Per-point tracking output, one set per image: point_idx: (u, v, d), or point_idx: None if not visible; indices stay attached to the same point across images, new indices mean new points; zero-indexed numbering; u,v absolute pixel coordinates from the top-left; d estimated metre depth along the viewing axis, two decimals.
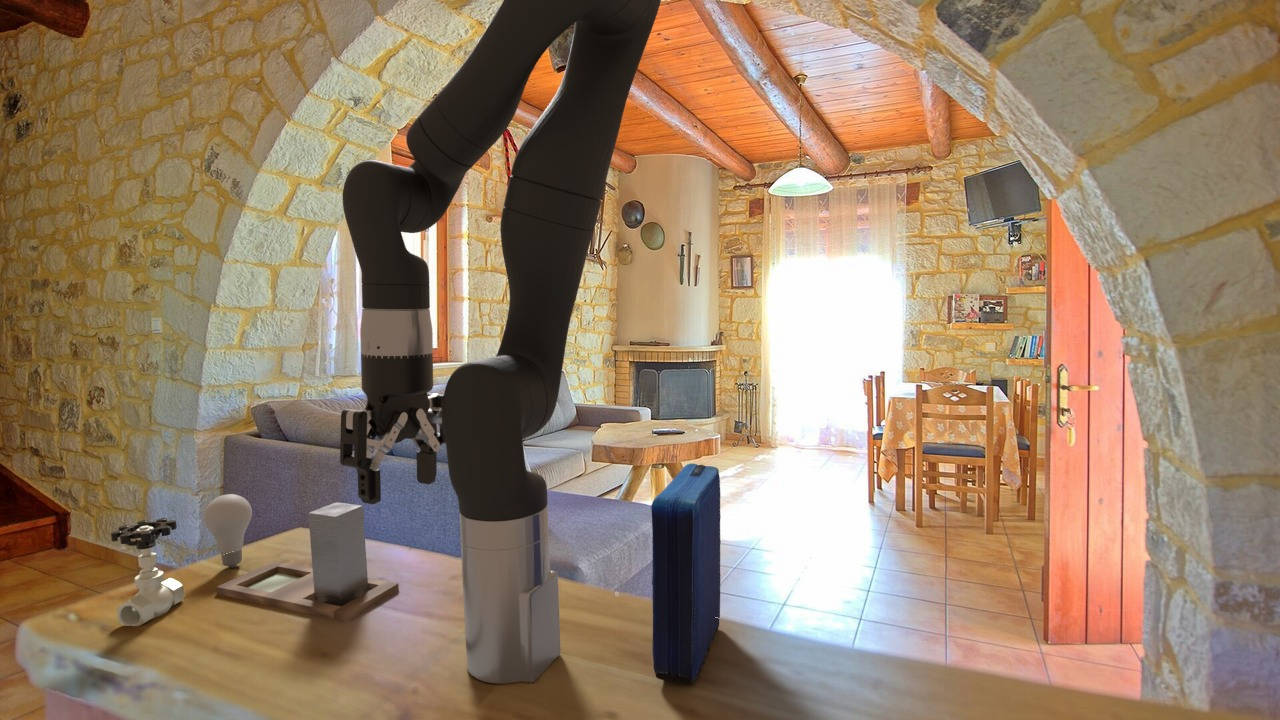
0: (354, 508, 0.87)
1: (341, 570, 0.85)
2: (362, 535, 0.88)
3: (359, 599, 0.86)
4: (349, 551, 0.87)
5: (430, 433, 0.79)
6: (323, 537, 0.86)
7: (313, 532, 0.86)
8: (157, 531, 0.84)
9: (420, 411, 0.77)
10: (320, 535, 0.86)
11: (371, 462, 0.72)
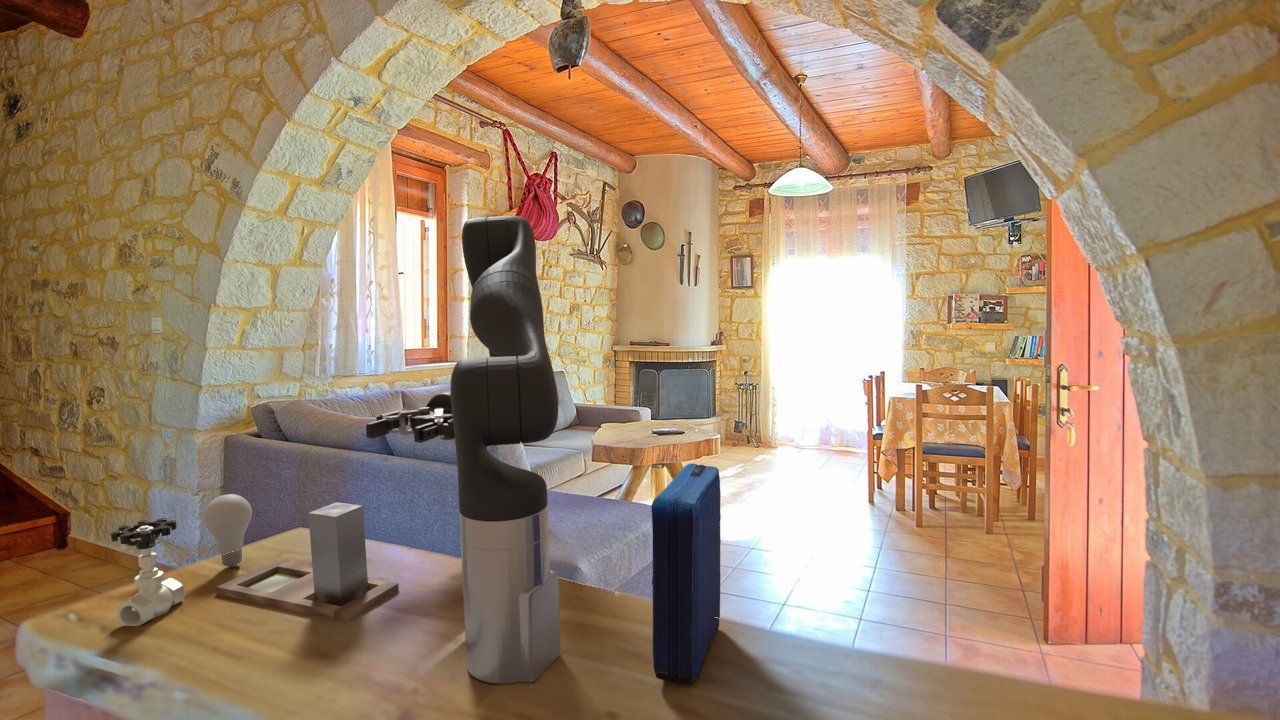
0: (354, 508, 0.87)
1: (341, 570, 0.85)
2: (362, 535, 0.88)
3: (359, 599, 0.86)
4: (349, 551, 0.87)
5: (437, 414, 1.01)
6: (323, 537, 0.86)
7: (313, 532, 0.86)
8: (157, 531, 0.84)
9: (440, 408, 1.04)
10: (320, 535, 0.86)
11: None
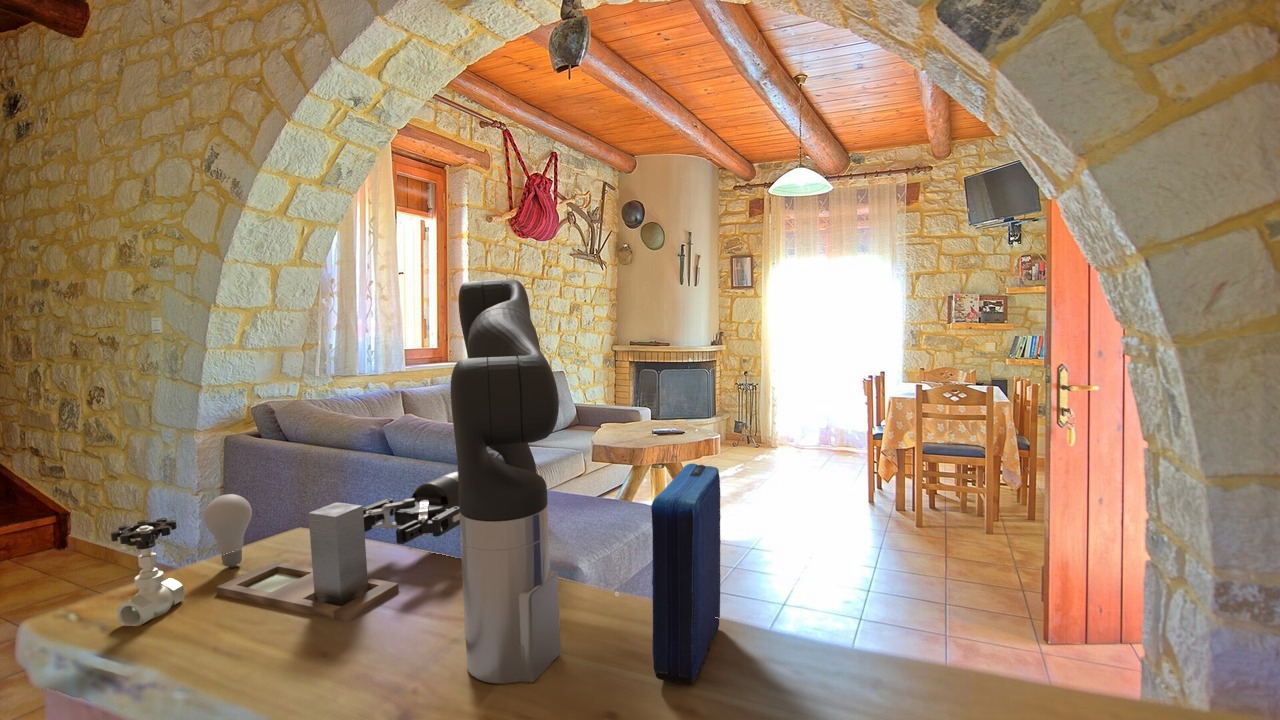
0: (354, 508, 0.87)
1: (341, 570, 0.85)
2: (362, 535, 0.88)
3: (359, 599, 0.86)
4: (349, 551, 0.87)
5: (422, 509, 0.98)
6: (323, 537, 0.86)
7: (313, 532, 0.86)
8: (157, 531, 0.84)
9: (425, 500, 1.01)
10: (320, 535, 0.86)
11: None
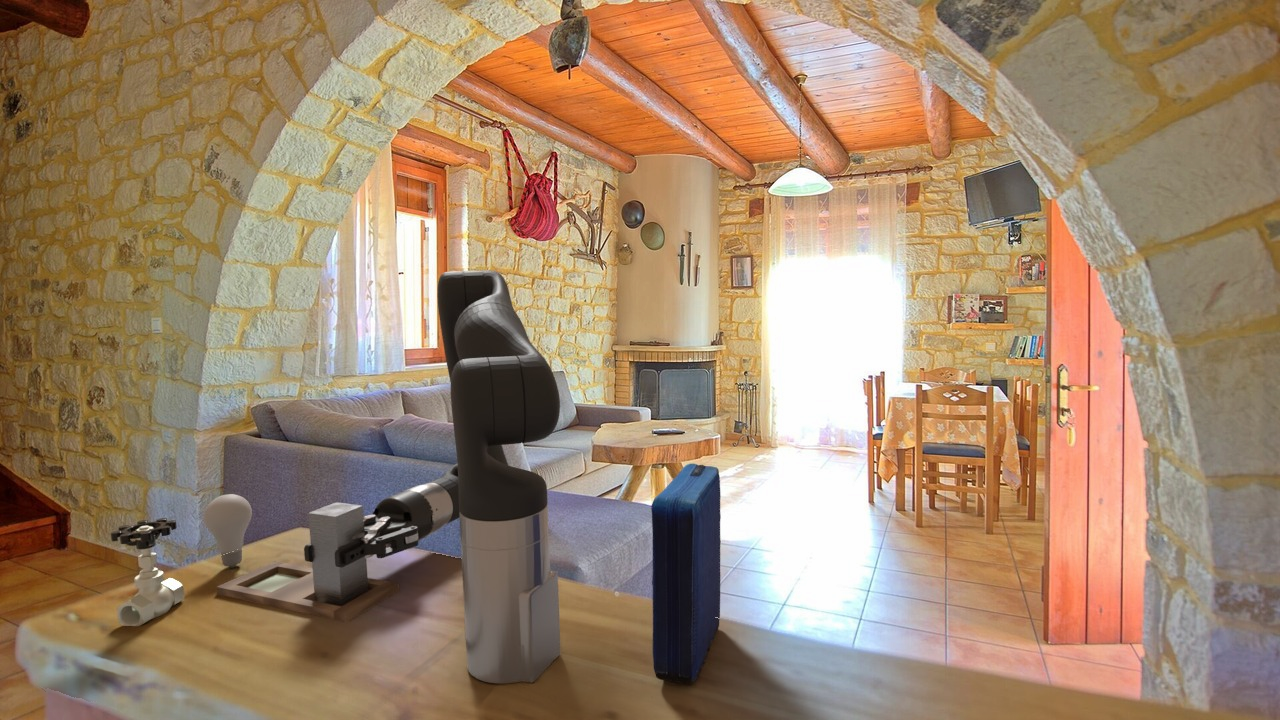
0: (354, 508, 0.87)
1: (341, 570, 0.85)
2: (362, 535, 0.88)
3: (359, 599, 0.86)
4: None
5: (373, 528, 0.90)
6: (323, 537, 0.86)
7: (313, 532, 0.86)
8: (157, 531, 0.84)
9: (387, 517, 0.94)
10: (320, 535, 0.86)
11: None
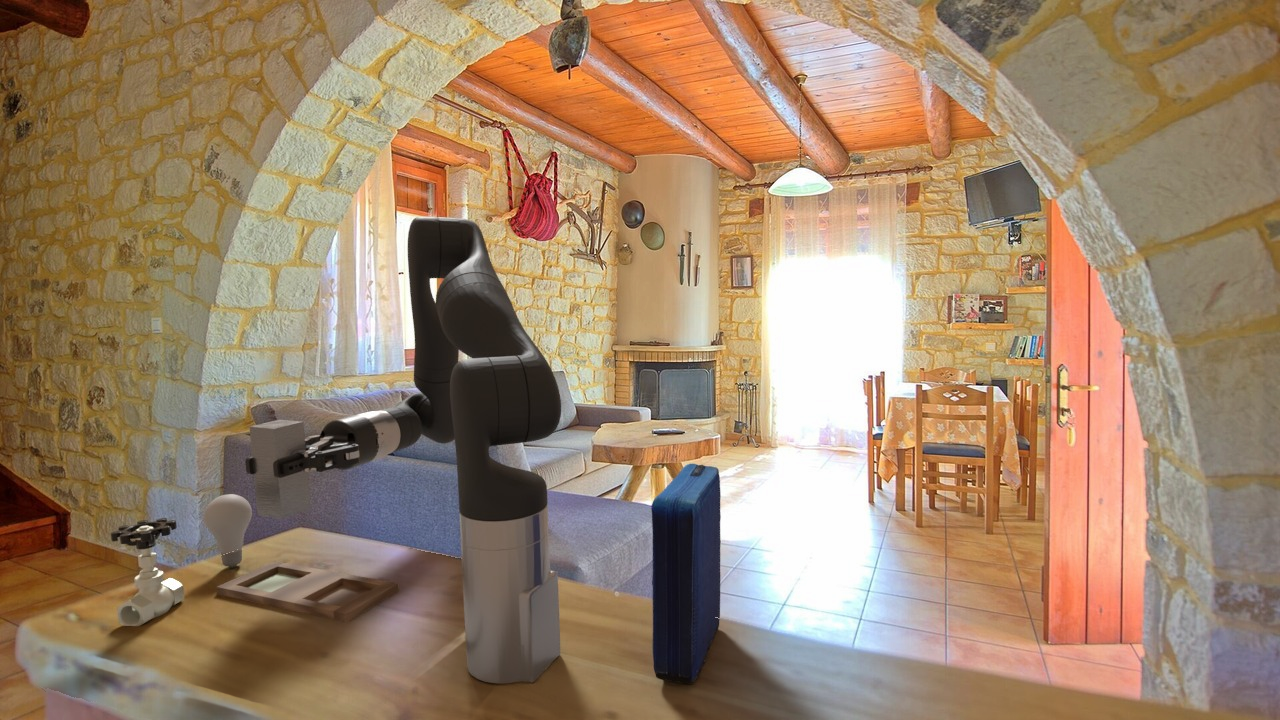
0: (294, 423, 0.90)
1: (280, 481, 0.89)
2: (302, 450, 0.92)
3: (359, 599, 0.86)
4: None
5: (315, 444, 0.94)
6: (263, 450, 0.89)
7: (254, 445, 0.89)
8: (157, 531, 0.84)
9: (330, 437, 0.97)
10: (260, 447, 0.89)
11: None
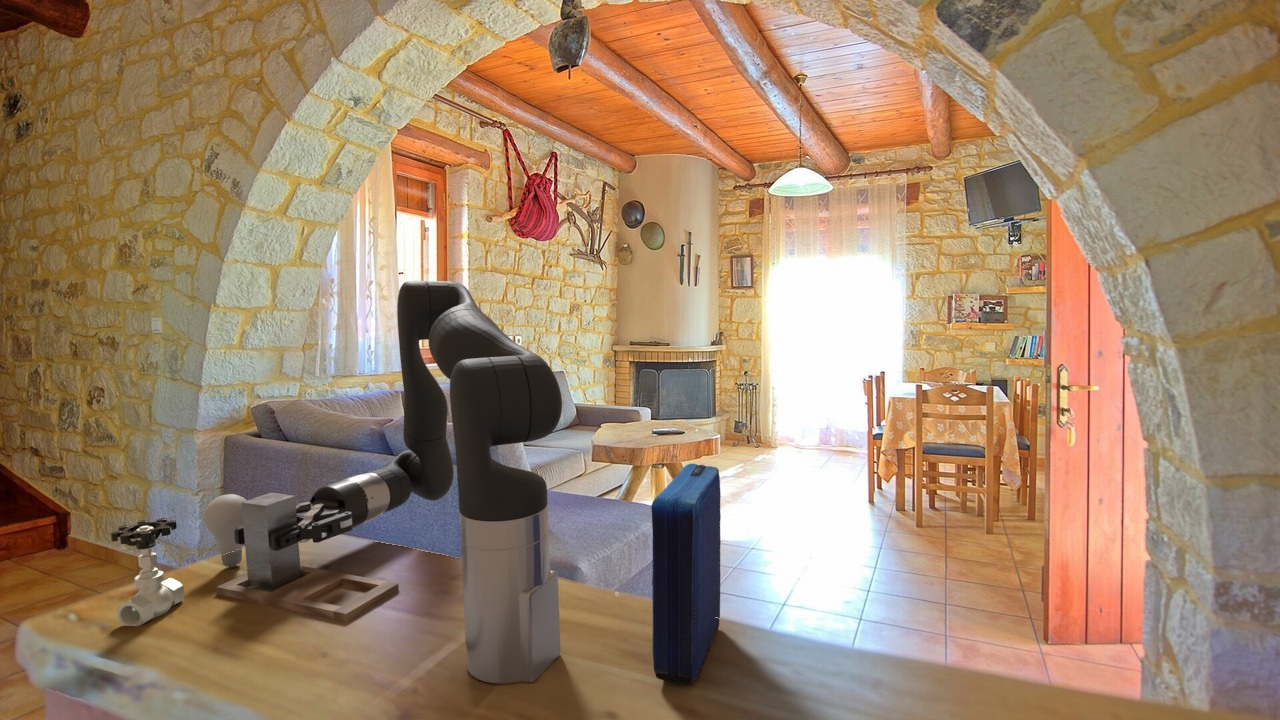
0: (286, 498, 0.92)
1: (272, 556, 0.90)
2: (294, 523, 0.93)
3: (359, 599, 0.86)
4: None
5: (309, 514, 0.95)
6: (254, 525, 0.90)
7: (246, 520, 0.91)
8: (157, 531, 0.84)
9: (321, 504, 0.98)
10: (252, 523, 0.90)
11: None
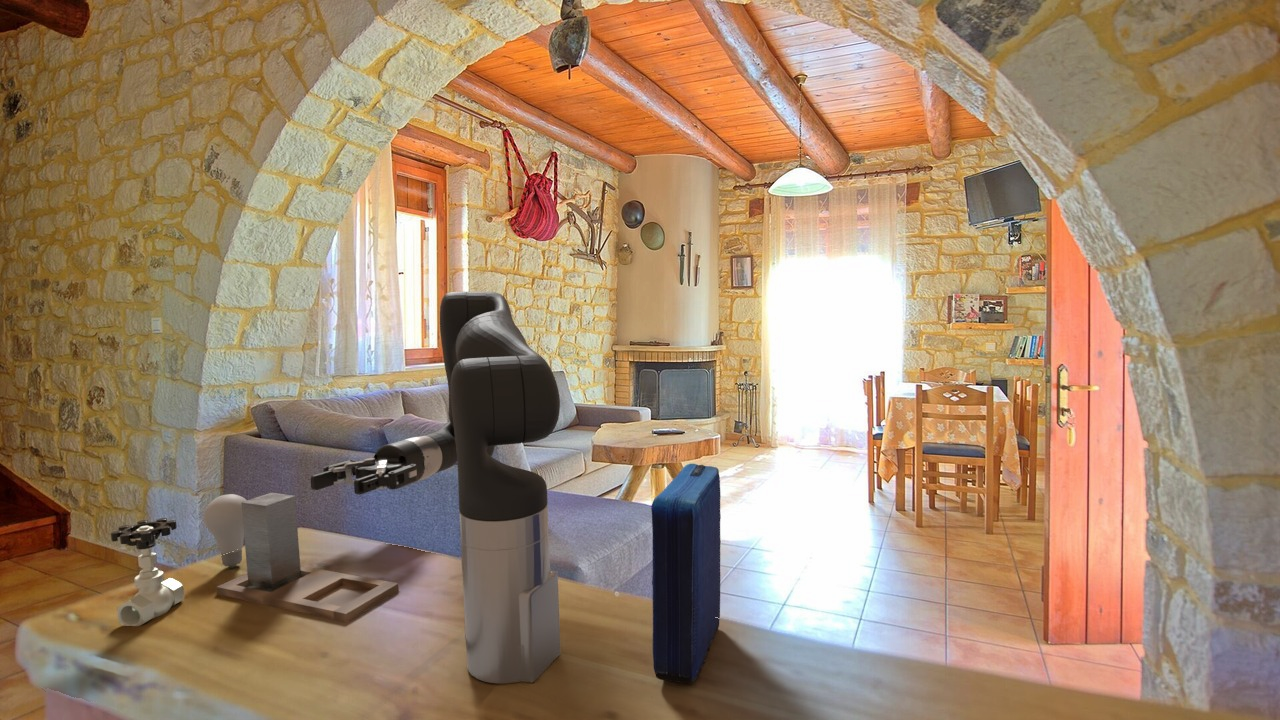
0: (286, 498, 0.92)
1: (272, 556, 0.90)
2: (294, 523, 0.93)
3: (359, 599, 0.86)
4: (280, 539, 0.91)
5: (380, 465, 1.06)
6: (254, 525, 0.90)
7: (246, 520, 0.91)
8: (157, 531, 0.84)
9: (384, 459, 1.09)
10: (252, 523, 0.90)
11: None
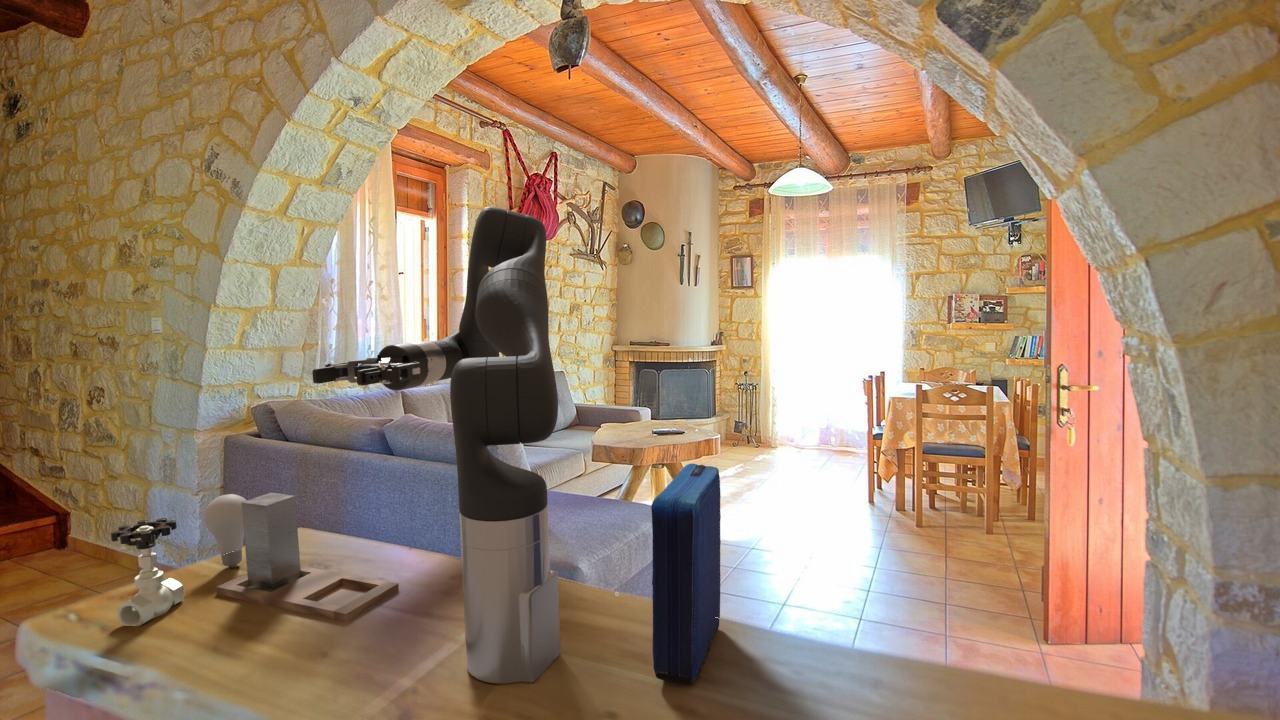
0: (286, 498, 0.92)
1: (272, 556, 0.90)
2: (294, 523, 0.93)
3: (359, 599, 0.86)
4: (280, 539, 0.91)
5: (383, 361, 1.04)
6: (254, 525, 0.90)
7: (246, 520, 0.91)
8: (157, 531, 0.84)
9: None
10: (252, 523, 0.90)
11: None
